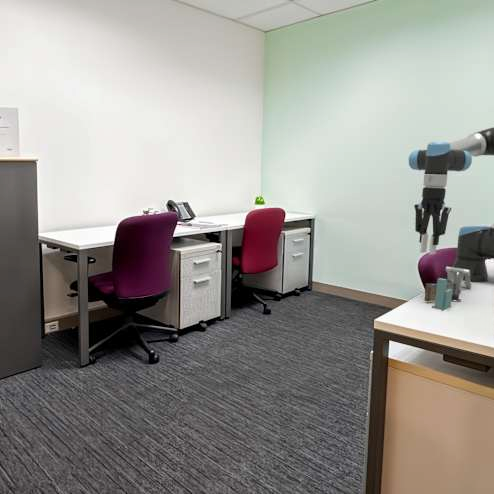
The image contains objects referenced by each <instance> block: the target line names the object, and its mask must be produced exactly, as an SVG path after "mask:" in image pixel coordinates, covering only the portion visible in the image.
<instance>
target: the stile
mask: <svg viewBox="0 0 494 494" xmlns="http://www.w3.org/2000/svg"><path fill="white" fill-rule="evenodd" d="M447 280H448V278H441V277H439V278H437V281H436V284H437V289H436V299H435V301H434V305H431V308H432V309H437V310H441V311H445V310H447V309H448V308H450V307H452V301H451V300H452V291H453V290H452V289H448V290H446V285H447Z"/></svg>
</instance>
